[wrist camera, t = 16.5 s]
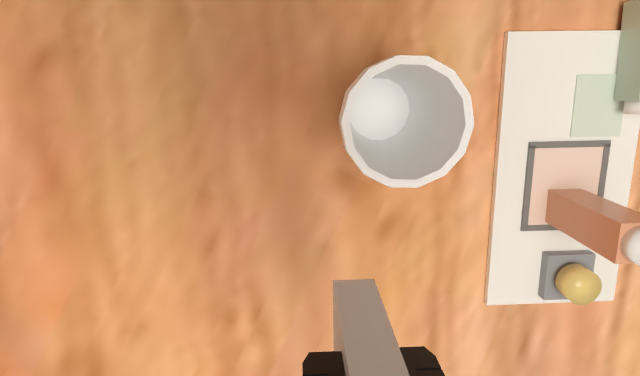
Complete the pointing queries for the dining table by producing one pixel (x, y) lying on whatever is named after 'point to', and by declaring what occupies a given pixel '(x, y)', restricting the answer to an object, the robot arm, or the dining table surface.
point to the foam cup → (406, 120)
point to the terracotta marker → (596, 223)
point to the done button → (578, 284)
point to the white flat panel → (554, 158)
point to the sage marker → (629, 59)
